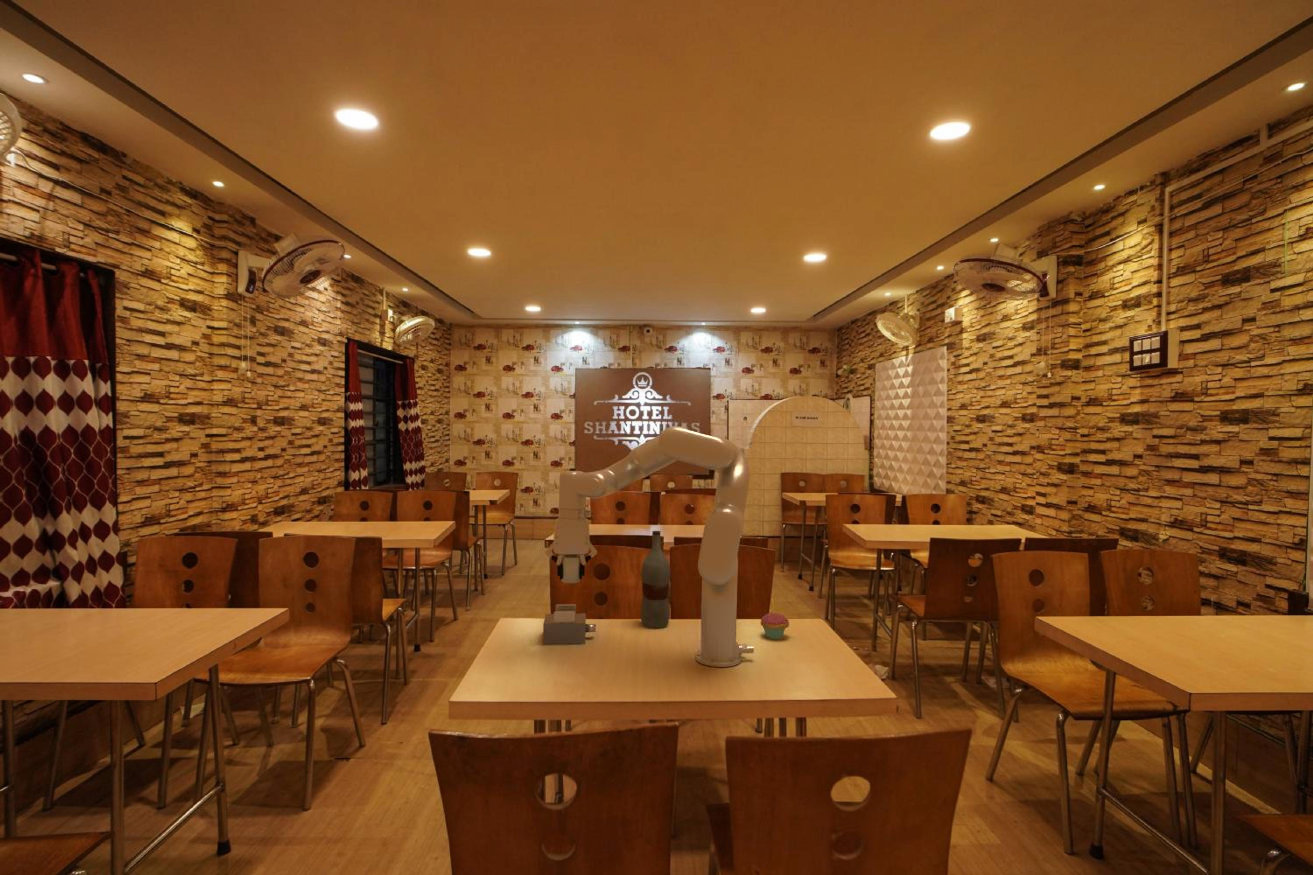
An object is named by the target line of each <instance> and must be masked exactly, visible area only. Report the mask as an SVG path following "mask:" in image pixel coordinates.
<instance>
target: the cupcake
mask: <svg viewBox="0 0 1313 875" xmlns="http://www.w3.org/2000/svg"><path fill="white" fill-rule="evenodd" d="M770 601H771V612H770V613H766V614H764V615H763V616H762V617H761V618H760V625H761V627H762V628H763V630H764V634H765V637H766V638H767V637H768V639H769V638H771V639H770V640H781V639H782V638H783V635H784V633H785V630H786V628H789V626H790V621H789V619H788V618H787V617H786V616H785V615H783V614H781V613H777V612H775V605H774V603H775V602H774V601H775V600H774V598H773V597H771V600H770Z"/></svg>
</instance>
